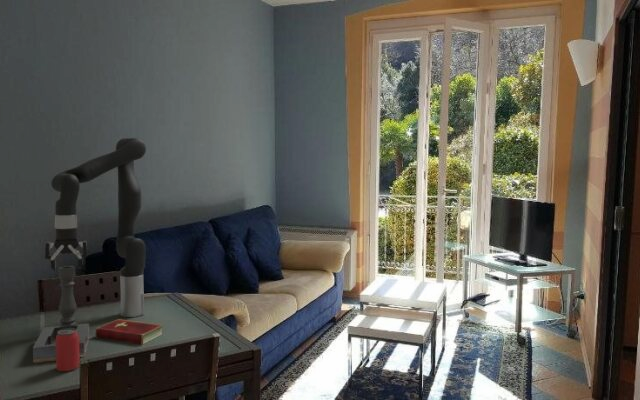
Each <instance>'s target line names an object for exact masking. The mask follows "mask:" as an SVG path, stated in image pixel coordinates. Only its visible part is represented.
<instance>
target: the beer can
mask: <svg viewBox="0 0 640 400" xmlns="http://www.w3.org/2000/svg"><path fill="white" fill-rule="evenodd" d="M55 361H56V362H55V366H56V367H55V368H56V370H57V371H58V372H62V371H63V372H65V371H66V372H71V371H75V370H76V369H77V368H79V367H80V365H79V363H80V358H79V335H78V333H77V329H74V328H68V329H62V330H60V331H58V332H57V336H56V360H55Z"/></svg>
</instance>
